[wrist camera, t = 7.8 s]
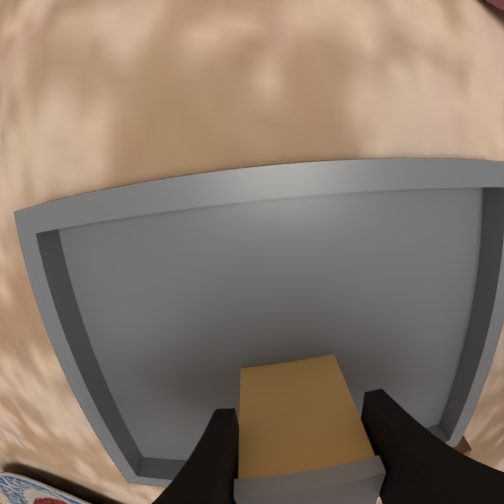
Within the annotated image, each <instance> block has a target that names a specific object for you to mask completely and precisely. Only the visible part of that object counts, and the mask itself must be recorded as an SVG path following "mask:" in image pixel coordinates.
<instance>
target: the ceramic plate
mask: <svg viewBox="0 0 504 504" xmlns="http://www.w3.org/2000/svg"><path fill="white" fill-rule="evenodd" d="M0 488H1V490H2V492H3V493H4V494H5V496H6V497H7V498H8V499H9V500H10V501H11V503H12V504H91V503H89V502H87V501H84V500H82V499H79V498H77V497H75V496H73V495H71V494H68V493H66V492H63V491H61V490H58V489H56V488H53V487H51V486H48V485H46V484H44V483H42V482H39V481H36V480H33V479H31V478H28V477H25V476H22V475H18V474H14V473H10V472H2V473H0Z"/></svg>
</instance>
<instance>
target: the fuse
mask: <svg viewBox="0 0 504 504" xmlns="http://www.w3.org/2000/svg"><path fill="white" fill-rule="evenodd" d="M385 474H386V471H385V468H384V466H383V463H382V461H381V458H380V456H379V455H378V456H375V455H374V452H373V449H372V447H371V444H370V442H369V439H368V437H367V434H366V432H365V429H364V427H363V424H362V422H361V419H360V417H359V414H358V412H357V409H356V407H355V404H354V402H353V399H352V397H351V394H350V392H349V389H348V387H347V385H346V382H345V380H344V377H343V375H342V373H341V370H340V368H339V365H338V363H337V361H336V358H335V356H334V354H332V355H326V356H321V357H315V358H310V359H304V360H297V361H291V362H284V363H277V364H270V365H263V366H255V367H246V368H241V374H240V416H239V465H238V479H234V500H235V502H236V504H375V503H376V501H377V498H378V495H379V492H380V489H381V486H382V483H383V480H384V477H385Z"/></svg>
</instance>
